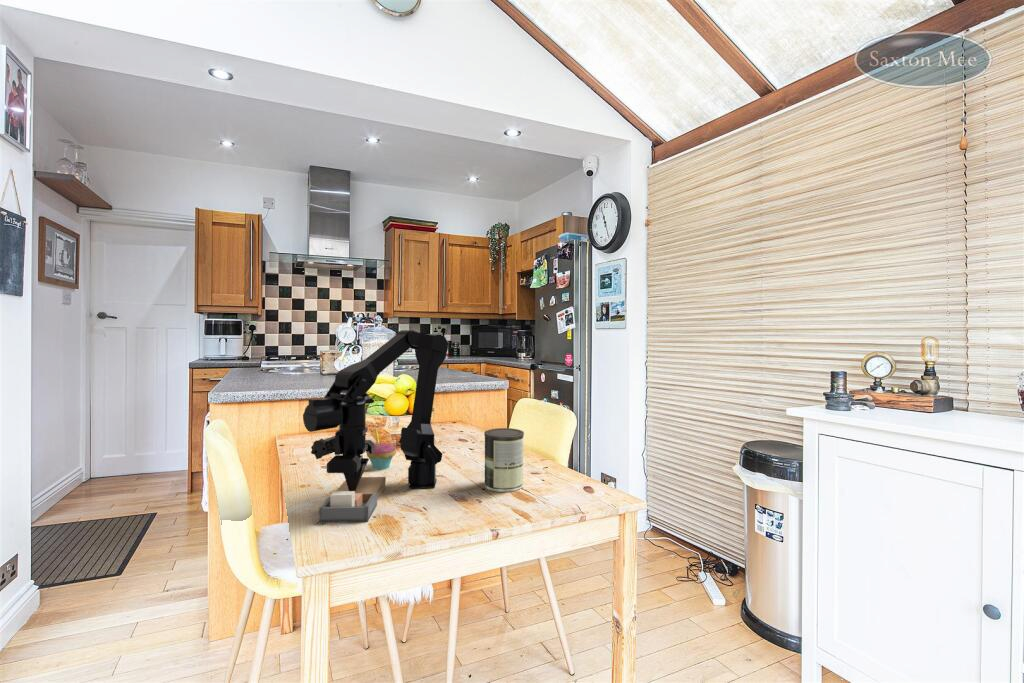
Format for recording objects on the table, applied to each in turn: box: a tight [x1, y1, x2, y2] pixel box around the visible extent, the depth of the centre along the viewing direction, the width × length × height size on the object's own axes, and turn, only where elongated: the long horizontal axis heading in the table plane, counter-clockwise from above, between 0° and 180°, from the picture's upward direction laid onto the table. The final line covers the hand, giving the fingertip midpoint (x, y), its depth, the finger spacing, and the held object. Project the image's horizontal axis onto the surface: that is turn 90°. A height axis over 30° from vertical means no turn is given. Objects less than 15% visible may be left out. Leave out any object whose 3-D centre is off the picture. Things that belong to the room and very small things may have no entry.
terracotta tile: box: [355, 493, 362, 506], centre depth 108 cm, size 4×4×2 cm
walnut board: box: [336, 476, 387, 503], centre depth 118 cm, size 10×13×2 cm
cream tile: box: [329, 490, 355, 507], centre depth 105 cm, size 4×4×2 cm
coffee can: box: [483, 427, 525, 493], centre depth 126 cm, size 10×10×14 cm
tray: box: [318, 492, 378, 524], centre depth 106 cm, size 10×10×3 cm
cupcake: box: [365, 425, 397, 470], centre depth 142 cm, size 9×8×12 cm
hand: (352, 492), depth 110 cm, fingers closed
